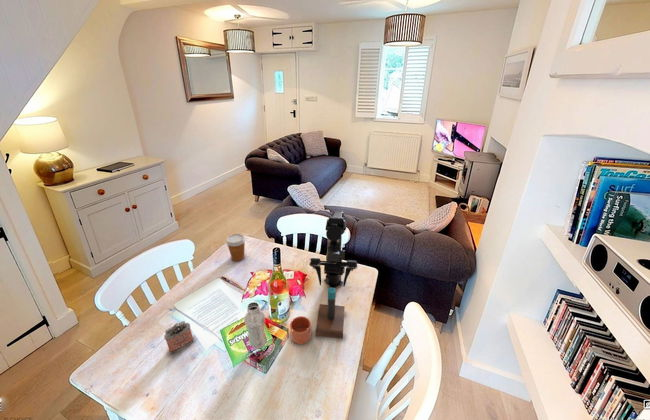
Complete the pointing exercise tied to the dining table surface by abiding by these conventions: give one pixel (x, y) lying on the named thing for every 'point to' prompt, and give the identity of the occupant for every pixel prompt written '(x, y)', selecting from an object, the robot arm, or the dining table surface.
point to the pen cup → (300, 330)
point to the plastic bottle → (255, 326)
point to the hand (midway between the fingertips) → (332, 285)
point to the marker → (331, 303)
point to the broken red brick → (178, 337)
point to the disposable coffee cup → (236, 246)
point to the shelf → (330, 322)
